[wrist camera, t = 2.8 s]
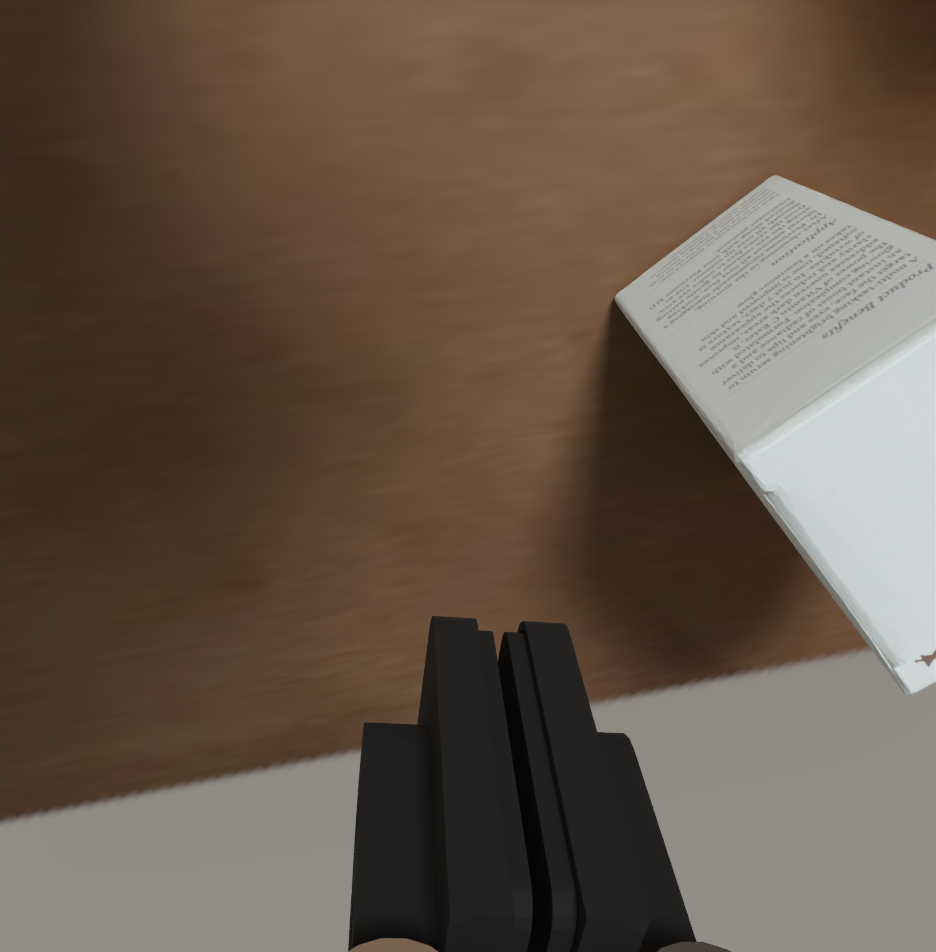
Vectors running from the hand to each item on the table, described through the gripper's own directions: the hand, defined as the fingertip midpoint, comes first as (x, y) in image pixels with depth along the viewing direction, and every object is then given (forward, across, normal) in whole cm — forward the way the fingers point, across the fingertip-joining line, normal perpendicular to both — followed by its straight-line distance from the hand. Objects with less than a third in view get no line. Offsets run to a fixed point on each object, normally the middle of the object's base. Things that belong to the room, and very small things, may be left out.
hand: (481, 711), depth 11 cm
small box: (+16, -10, -1) cm, 19 cm away
